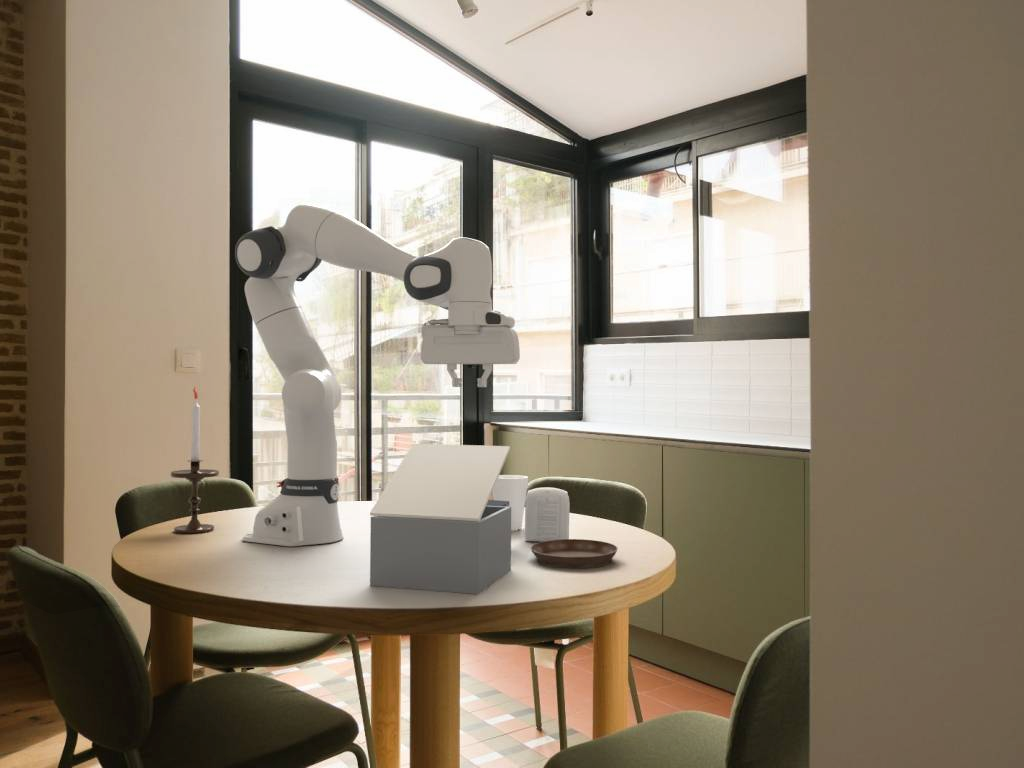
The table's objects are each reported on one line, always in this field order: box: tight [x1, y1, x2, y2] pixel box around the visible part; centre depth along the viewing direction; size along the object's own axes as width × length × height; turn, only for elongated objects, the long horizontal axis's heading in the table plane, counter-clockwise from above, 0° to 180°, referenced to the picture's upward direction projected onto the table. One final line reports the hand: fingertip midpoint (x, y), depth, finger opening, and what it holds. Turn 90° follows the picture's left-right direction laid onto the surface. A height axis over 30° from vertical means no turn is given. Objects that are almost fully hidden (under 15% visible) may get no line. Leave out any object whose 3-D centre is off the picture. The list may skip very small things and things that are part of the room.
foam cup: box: [491, 474, 529, 531], centre depth 199 cm, size 10×9×13 cm
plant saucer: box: [530, 538, 619, 569], centre depth 161 cm, size 18×18×3 cm
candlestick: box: [170, 387, 220, 535], centre depth 193 cm, size 11×11×35 cm
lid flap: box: [369, 443, 511, 521], centre depth 145 cm, size 20×22×1 cm
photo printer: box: [524, 486, 571, 543], centre depth 182 cm, size 10×4×12 cm, turn 86°
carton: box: [369, 506, 512, 595], centre depth 145 cm, size 20×20×12 cm
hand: (469, 387), depth 159 cm, fingers open, 4 cm apart
